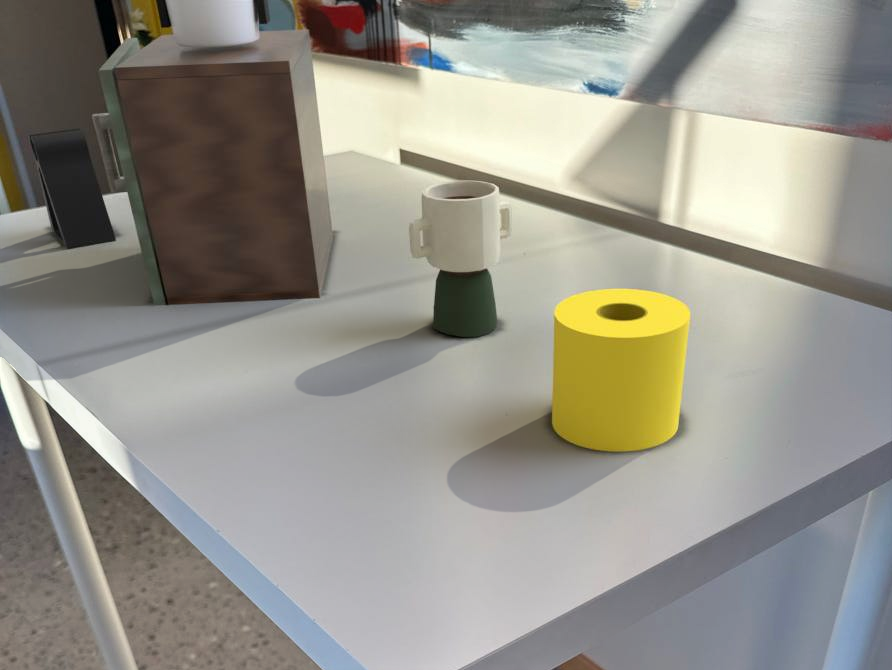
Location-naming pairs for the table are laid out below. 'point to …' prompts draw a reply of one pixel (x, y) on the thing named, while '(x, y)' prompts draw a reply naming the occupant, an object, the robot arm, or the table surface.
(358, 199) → the table surface
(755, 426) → the table surface
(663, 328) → the yellow toilet paper roll
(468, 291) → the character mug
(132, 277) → the table surface
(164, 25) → the robot arm
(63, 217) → the phone stand
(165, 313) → the table surface
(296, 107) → the cupboard
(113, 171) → the cupboard door
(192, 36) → the white cup
